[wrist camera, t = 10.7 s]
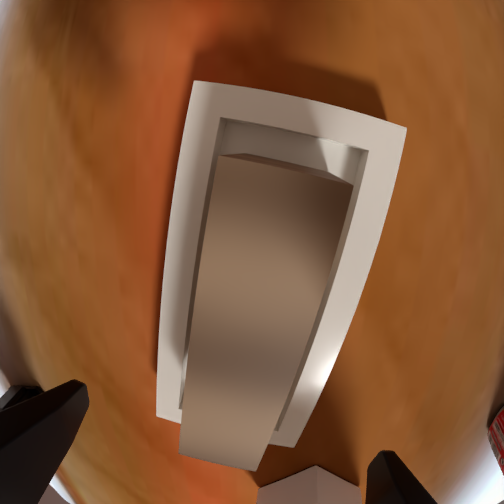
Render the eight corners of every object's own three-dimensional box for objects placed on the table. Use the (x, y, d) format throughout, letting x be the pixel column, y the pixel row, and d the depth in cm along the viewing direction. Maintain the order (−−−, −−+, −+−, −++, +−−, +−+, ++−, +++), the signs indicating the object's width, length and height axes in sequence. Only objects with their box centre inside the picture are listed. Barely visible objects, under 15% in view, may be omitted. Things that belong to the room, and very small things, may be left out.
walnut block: (265, 396, 19) (255, 471, 13) (204, 382, 19) (178, 453, 14) (328, 171, 14) (353, 185, 9) (245, 153, 15) (218, 155, 9)
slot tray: (294, 422, 21) (294, 447, 18) (167, 393, 21) (156, 416, 19) (390, 130, 14) (407, 128, 12) (207, 89, 15) (194, 80, 12)
